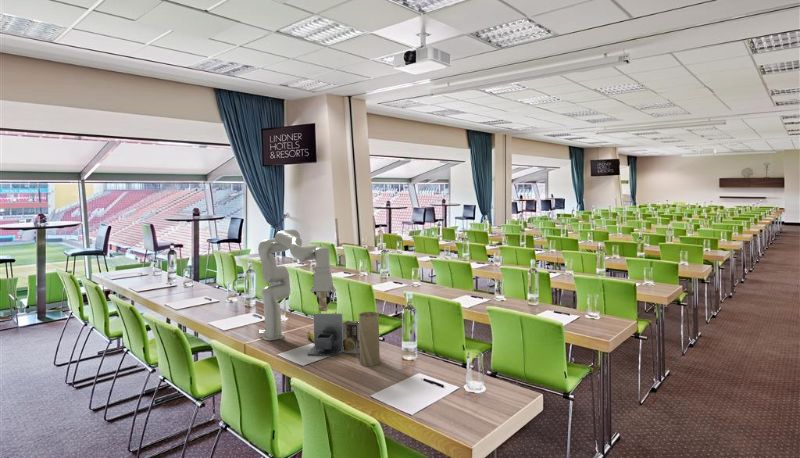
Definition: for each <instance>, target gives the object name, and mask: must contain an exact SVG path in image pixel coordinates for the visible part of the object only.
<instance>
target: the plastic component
mask: <svg viewBox="0 0 800 458" xmlns="http://www.w3.org/2000/svg"><path fill="white" fill-rule="evenodd" d="M306 338H307V339H308V340H311V341H312V342H313V343H314V333H313V334H312V332H311V331H309V330H308V331H307V335H306Z"/></svg>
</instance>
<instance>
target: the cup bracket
mask: <svg viewBox="0 0 800 458" xmlns="http://www.w3.org/2000/svg"><path fill="white" fill-rule="evenodd" d="M343 321H344V320H343V313H324V312H323V313H318V312H317V313H316V312H314V313H313V334H314V342H313V343H314V346H313V347H311V349H310V350H309V352H308V353H307V354H306V355H307V356H308V357H309V356H310V357H338V355H339V353H341V351H342V350H343V328H342V324H343V323H344V322H343Z"/></svg>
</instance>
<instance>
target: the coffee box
mask: <svg viewBox="0 0 800 458" xmlns="http://www.w3.org/2000/svg"><path fill="white" fill-rule="evenodd" d="M358 322H359V320H358V321H355V320H346V321H345V322H343V324H342V328H343V348H342V351H343V353H344V354H345V353H346V354H355V355H360V340H359V323H358Z"/></svg>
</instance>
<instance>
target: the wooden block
mask: <svg viewBox="0 0 800 458" xmlns="http://www.w3.org/2000/svg"><path fill="white" fill-rule="evenodd" d="M326 297H327V293H326V292H319V304H318V311H319V312H328V310H329V304H327V303H326Z"/></svg>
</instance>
